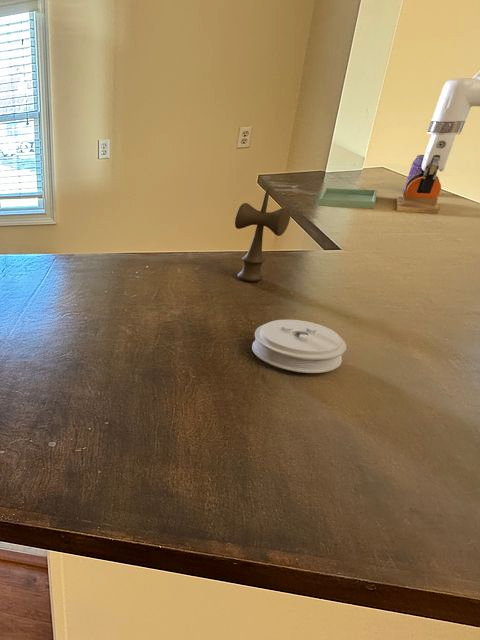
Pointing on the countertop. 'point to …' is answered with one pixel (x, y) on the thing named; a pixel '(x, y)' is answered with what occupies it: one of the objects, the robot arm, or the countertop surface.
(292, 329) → the white round disc
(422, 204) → the disc rack
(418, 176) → the slate disc
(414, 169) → the beverage can
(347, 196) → the tray
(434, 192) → the orange disc
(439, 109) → the robot arm
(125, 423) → the countertop surface
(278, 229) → the kendama
